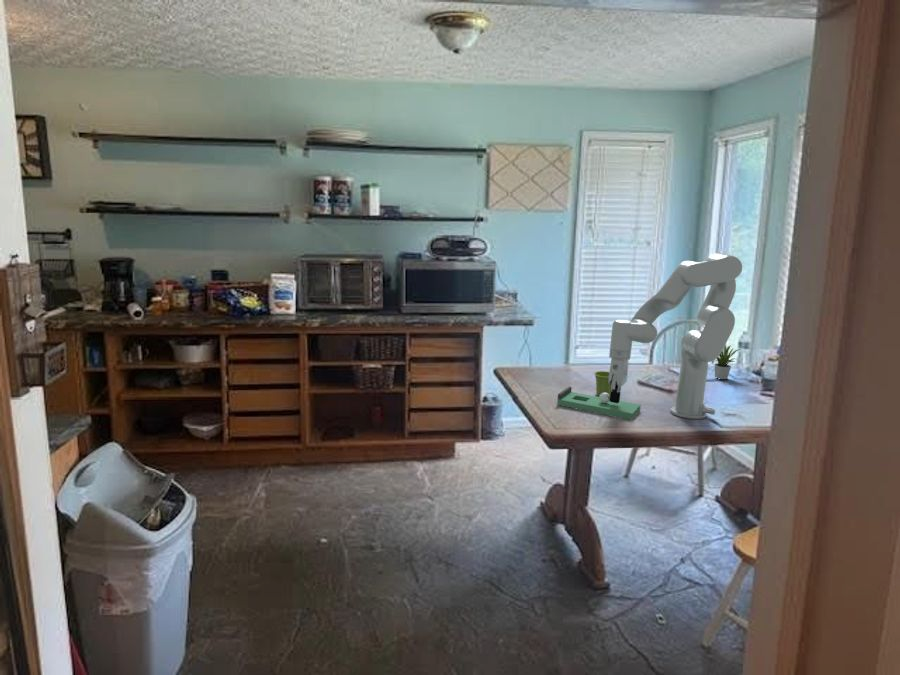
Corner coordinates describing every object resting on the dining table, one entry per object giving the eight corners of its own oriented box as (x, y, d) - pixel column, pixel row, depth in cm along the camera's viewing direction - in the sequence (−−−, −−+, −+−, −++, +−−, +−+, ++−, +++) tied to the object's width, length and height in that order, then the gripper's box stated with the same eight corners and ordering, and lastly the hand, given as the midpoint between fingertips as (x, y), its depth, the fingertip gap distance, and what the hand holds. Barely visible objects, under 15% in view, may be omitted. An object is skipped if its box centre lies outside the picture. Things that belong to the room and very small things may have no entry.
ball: (606, 389, 244) (598, 395, 246) (603, 391, 241) (595, 398, 242) (613, 397, 243) (605, 403, 245) (611, 400, 240) (603, 406, 242)
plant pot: (616, 393, 266) (618, 372, 264) (615, 399, 257) (618, 378, 255) (593, 390, 268) (595, 370, 267) (591, 396, 259) (593, 375, 258)
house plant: (734, 375, 306) (739, 341, 302) (744, 383, 292) (749, 348, 289) (703, 373, 307) (707, 339, 304) (711, 381, 293) (716, 345, 290)
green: (639, 410, 244) (641, 399, 243) (631, 419, 233) (633, 408, 232) (568, 397, 257) (569, 386, 256) (557, 405, 246) (558, 394, 245)
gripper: (625, 359, 229) (619, 409, 233) (635, 352, 242) (629, 399, 246) (604, 355, 233) (599, 405, 236) (614, 348, 246) (609, 395, 249)
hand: (614, 402), depth 241 cm, fingers closed
